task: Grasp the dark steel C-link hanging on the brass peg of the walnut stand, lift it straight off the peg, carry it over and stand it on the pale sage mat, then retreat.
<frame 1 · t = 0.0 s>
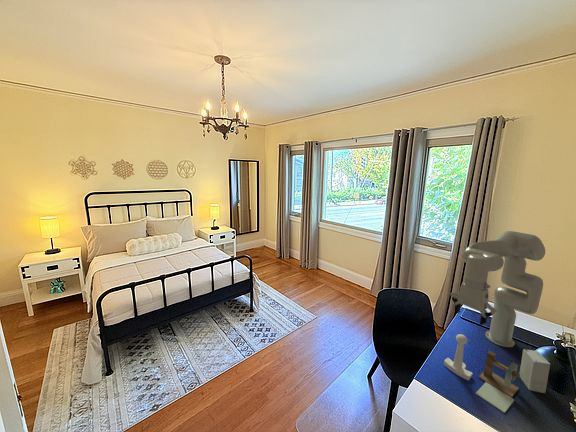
hand: (469, 317, 108), 31 cm above the table, fingers open, 9 cm apart
link: (509, 381, 107), point 4 cm above the table, touching stand
mat: (494, 397, 104), on the table
skincare box: (530, 384, 110), on the table
stand: (487, 376, 114), on the table
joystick: (458, 369, 118), on the table
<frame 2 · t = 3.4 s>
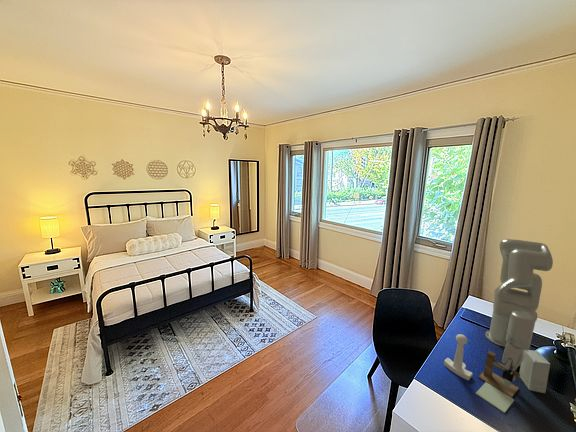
hand: (510, 375, 106), 8 cm above the table, fingers closed on link, 7 cm apart
link: (509, 381, 107), point 4 cm above the table, touching gripper, stand
everything else where it was.
when the fingers open (5 cm above the table, at t = 10.0 s): link stays where it is, resting on mat.
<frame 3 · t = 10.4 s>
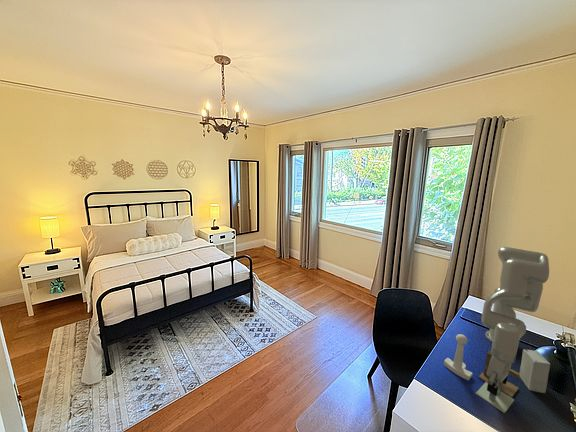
hand: (496, 387, 103), 5 cm above the table, fingers open, 9 cm apart
link: (494, 396, 104), point 1 cm above the table, touching mat
everything else where it was.
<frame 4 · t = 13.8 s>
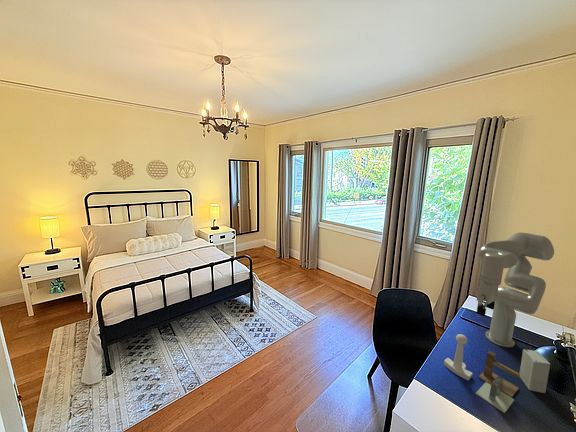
hand: (485, 311, 117), 28 cm above the table, fingers open, 9 cm apart
nothing on the table moved.
at the end: link inside the target area on the mat (0.1 cm from its centre), point 0.6 cm above the mat's base; link tilted 0°; link touching mat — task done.
